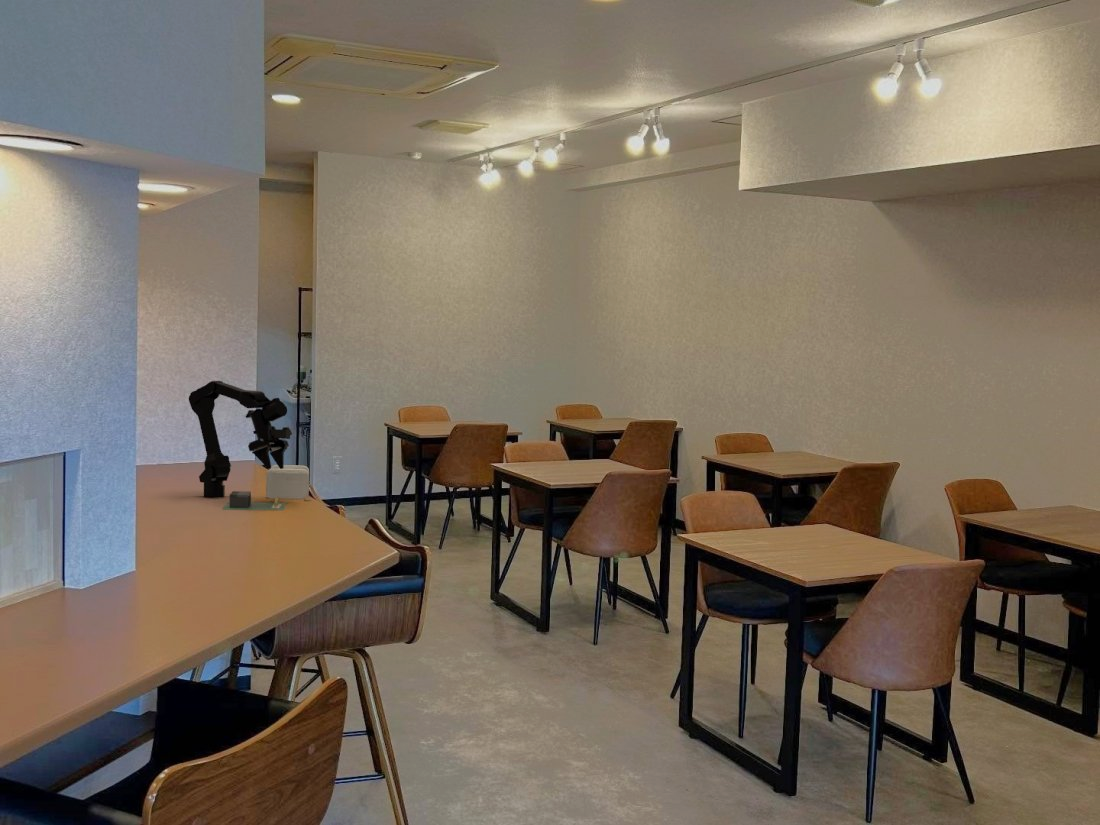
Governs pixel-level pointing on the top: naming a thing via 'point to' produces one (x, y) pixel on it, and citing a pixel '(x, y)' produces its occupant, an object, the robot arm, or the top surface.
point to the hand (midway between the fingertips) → (275, 468)
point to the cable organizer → (287, 482)
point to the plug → (240, 499)
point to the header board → (260, 506)
